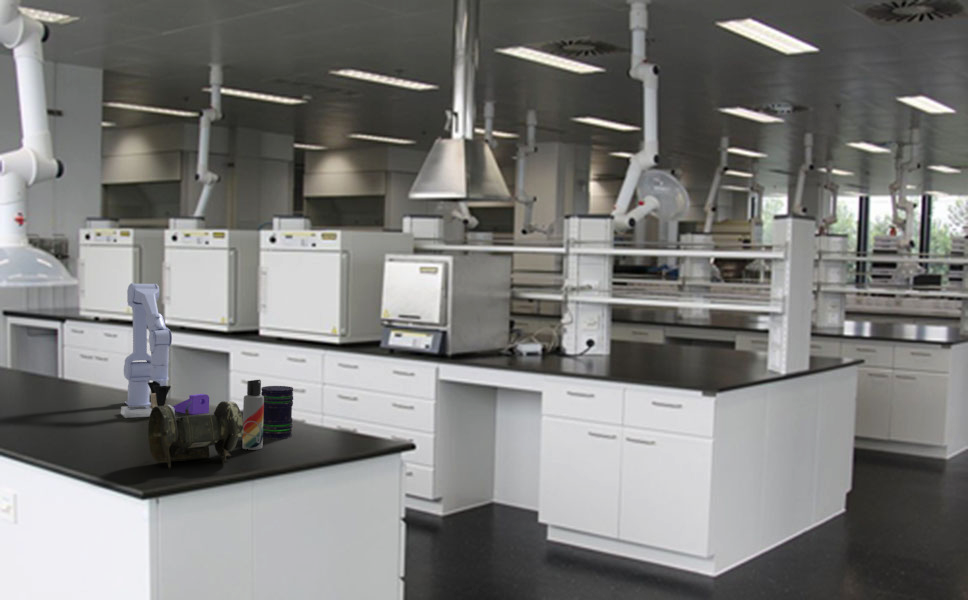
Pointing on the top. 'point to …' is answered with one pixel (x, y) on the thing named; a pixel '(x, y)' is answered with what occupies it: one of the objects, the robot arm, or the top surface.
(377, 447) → the top surface
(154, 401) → the peg
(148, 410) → the grey rectangular frame
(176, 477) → the top surface
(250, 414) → the lotion bottle
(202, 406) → the bracket
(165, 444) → the bench grinder
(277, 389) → the storage jar
